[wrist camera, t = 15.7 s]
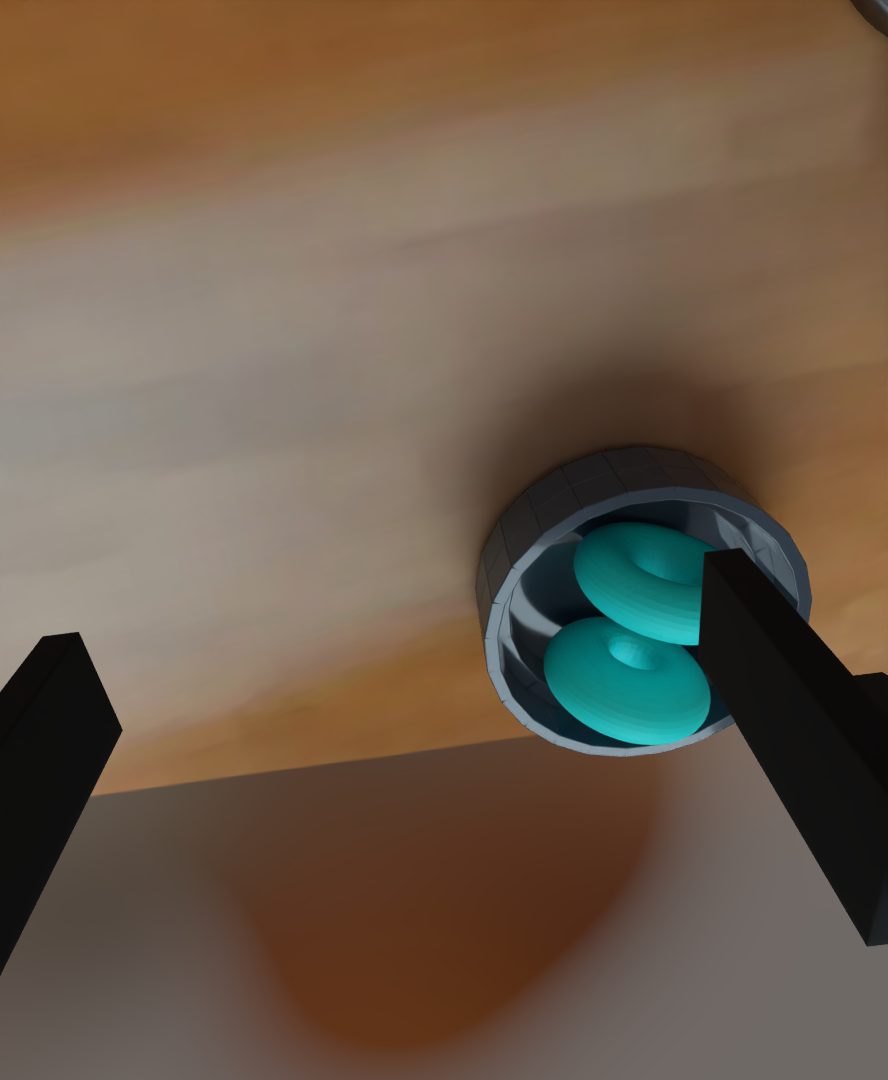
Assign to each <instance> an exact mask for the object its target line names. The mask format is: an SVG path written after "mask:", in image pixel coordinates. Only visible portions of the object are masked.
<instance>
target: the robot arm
mask: <svg viewBox="0 0 888 1080" xmlns="http://www.w3.org/2000/svg"><path fill="white" fill-rule="evenodd" d="M851 2H852V3H853V5H854V6H855V8H856V9H857V10H858V11H859V12H860V13H861V15H862V16H863V17H864V18H865V19H866V20H867V21H868V22H869V23H870V24H871V25H872V26H873V27H875V28H876V29H877V30H878V31H880V32H881V33H883V34H884V35H886V36H887V37H888V0H851ZM698 660H699V662H700V663H701V665H702V667H703V668H704V670H705V672H706V673H707V675H708V677H709V679H710V680H711V682H712V684H713V685H714V687H715V689H716V691H717V692H718V694H719V696H720V697H721V699H722V701H723V702H724V704H725V706H726V708H727V709H728V711H729V713H730V714H731V716H732V718H733V719H734V721H735V723H736V725H737V726H738V728H739V729H740V731H741V733H742V735H743V736H744V738H745V740H746V742H747V743H748V745H749V747H750V748H751V750H752V752H753V753H754V755H755V757H756V758H757V760H758V762H759V764H760V765H761V767H762V769H763V770H764V772H765V774H766V775H767V777H768V779H769V781H770V782H771V784H772V786H773V787H774V789H775V791H776V793H777V794H778V796H779V798H780V799H781V801H782V803H783V804H784V806H785V808H786V809H787V811H788V813H789V815H790V816H791V818H792V820H793V821H794V823H795V825H796V827H797V828H798V830H799V832H800V833H801V835H802V837H803V838H804V840H805V842H806V844H807V845H808V847H809V849H810V850H811V852H812V854H813V855H814V857H815V859H816V861H817V862H818V864H819V866H820V867H821V869H822V871H823V872H824V874H825V876H826V878H827V879H828V881H829V883H830V884H831V886H832V888H833V889H834V891H835V893H836V895H837V896H838V898H839V900H840V901H841V903H842V905H843V906H844V908H845V910H846V912H847V913H848V915H849V917H850V918H851V920H852V922H853V924H854V925H855V927H856V928H857V930H858V932H859V934H860V935H861V937H862V939H863V940H864V942H865V944H866V946H876V945H884V944H888V675H886V674H885V673H883V672H879V673H871V674H863V675H855V676H853V675H852V674H851V673H850V672H849V671H848V670H847V668H846V667H845V666H844V665H843V664H842V663H841V661H840V660H839V659H838V658H837V657H836V656H835V655H834V653H833V652H832V651H831V650H830V649H829V648H828V647H827V645H826V644H825V643H824V642H823V641H822V640H821V639H820V637H819V636H818V635H817V634H816V633H815V632H814V630H813V629H812V628H811V627H810V626H809V625H808V624H807V622H806V621H805V620H804V619H803V618H802V617H801V616H800V614H799V613H798V612H797V611H796V610H795V609H794V607H793V606H792V605H791V604H790V603H789V602H788V601H787V599H786V598H785V597H784V596H783V595H782V594H781V593H780V591H779V590H778V589H777V588H776V587H775V586H774V585H773V583H772V582H771V581H770V580H769V579H768V578H767V576H766V575H765V574H764V573H763V572H762V571H761V570H760V568H759V567H758V566H757V565H756V564H755V563H754V562H753V560H752V559H751V558H750V557H749V556H748V555H747V554H746V552H745V551H744V550H743V549H742V548H733V549H725V550H718V551H710V552H704V564H703V580H702V596H701V611H700V627H699V643H698ZM122 731H123V730H122V727H121V725H120V723H119V721H118V718H117V716H116V714H115V712H114V710H113V707H112V705H111V703H110V701H109V698H108V696H107V694H106V692H105V689H104V687H103V685H102V683H101V680H100V678H99V676H98V674H97V672H96V669H95V667H94V665H93V663H92V660H91V658H90V656H89V654H88V651H87V649H86V647H85V645H84V643H83V640H82V638H81V636H80V634H79V632H74V633H66V634H58V635H51V636H43V637H42V638H41V639H40V641H39V642H38V643H37V645H36V646H35V647H34V649H33V650H32V651H31V653H30V654H29V655H28V656H27V658H26V659H25V660H24V662H23V663H22V664H21V666H20V667H19V668H18V669H17V671H16V672H15V673H14V675H13V676H12V677H11V679H10V680H9V681H8V683H7V684H6V685H5V686H4V688H3V689H2V690H1V692H0V975H1V973H2V971H3V969H4V967H5V965H6V963H7V961H8V959H9V957H10V954H11V953H12V951H13V949H14V947H15V945H16V943H17V941H18V939H19V937H20V935H21V933H22V931H23V929H24V927H25V925H26V923H27V921H28V919H29V917H30V915H31V913H32V911H33V909H34V907H35V905H36V903H37V901H38V899H39V897H40V895H41V893H42V891H43V889H44V887H45V885H46V883H47V881H48V879H49V877H50V875H51V873H52V871H53V869H54V867H55V865H56V863H57V861H58V859H59V857H60V855H61V853H62V851H63V849H64V847H65V845H66V843H67V841H68V839H69V837H70V835H71V833H72V831H73V829H74V827H75V825H76V823H77V821H78V819H79V817H80V815H81V813H82V811H83V809H84V807H85V805H86V803H87V801H88V799H89V797H90V795H91V793H92V791H93V789H94V787H95V785H96V783H97V781H98V779H99V777H100V775H101V773H102V771H103V769H104V767H105V765H106V763H107V761H108V759H109V757H110V755H111V753H112V751H113V749H114V747H115V745H116V743H117V741H118V739H119V737H120V735H121V733H122Z"/></svg>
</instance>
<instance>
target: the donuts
mask: <svg viewBox="0 0 888 1080" xmlns="http://www.w3.org/2000/svg"><path fill="white" fill-rule="evenodd" d="M718 550H719V549H718V548H716V547H714V546H713V545H711V544H709V543H707V542H705V541H703V540H701V539H699V538H696V537H694V536H691V535H689V534H686V533H683V532H681V531H678V530H674V529H671V528H667V527H663V526H659V525H654V524H648V523H640V522H619V523H611V524H607V525H604V526H601V527H599V528H596V529H594V530H593V531H591V532H590V533H588V534H587V535H586V536H585V537H584V538H583V539H582V540H581V542H580V544H579V545H578V547H577V549H576V552H575V556H574V570H575V575H576V579H577V581H578V583H579V585H580V587H581V589H582V591H583V592H584V594H585V595H586V596H587V598H588V599H589V600H590V601H591V602H592V604H593V605H594V606H595V607H596V608H597V609H599V610H600V611H601V612H602V613H603V614H605V615H606V616H607V617H591V618H585V619H581V620H577V621H574V622H572V623H570V624H568V625H566V626H564V627H563V628H561V629H560V630H559V631H558V632H557V633H556V634H555V635H554V636H553V637H552V638H551V640H550V642H549V643H548V645H547V647H546V650H545V654H544V673H545V677H546V680H547V683H548V685H549V687H550V689H551V691H552V693H553V694H554V696H555V697H556V699H557V700H558V701H559V702H560V703H561V705H562V706H563V707H564V708H565V709H566V710H567V711H568V712H569V713H571V714H572V715H573V716H574V717H575V718H577V719H578V720H579V721H581V722H582V723H584V724H585V725H587V726H588V727H590V728H592V729H594V730H596V731H598V732H600V733H602V734H604V735H607V736H609V737H612V738H615V739H618V740H621V741H625V742H629V743H634V744H642V745H663V744H670V743H674V742H677V741H680V740H682V739H684V738H687V737H688V736H690V735H692V734H693V733H694V732H696V731H697V730H698V728H699V727H700V726H701V725H702V724H703V723H704V721H705V719H706V717H707V715H708V712H709V708H710V701H711V698H710V689H709V685H708V682H707V679H706V677H705V675H704V673H703V671H702V669H701V667H700V666H699V665H698V663H697V662H696V661H695V659H694V658H693V657H692V656H691V655H690V654H689V653H688V652H687V651H686V650H685V649H684V648H683V647H682V646H681V645H698V643H699V627H700V611H701V596H702V580H703V564H704V552H710V551H718ZM679 644H681V645H679Z"/></svg>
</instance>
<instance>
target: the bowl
mask: <svg viewBox="0 0 888 1080" xmlns="http://www.w3.org/2000/svg"><path fill="white" fill-rule="evenodd" d="M619 522H640V523H648V524H654V525H659V526H663V527H667V528H671V529H674V530H678V531H681V532H683V533H686V534H689V535H691V536H694V537H696V538H699V539H701V540H703V541H705V542H707V543H709V544H711V545H713V546H714V547H716V548H718V549H719V550H725V549H733V548H742V549H743V550H744V551H745V552H746V554H747V555H748V556H749V557H750V558H751V559H752V560H753V562H754V563H755V564H756V565H757V566H758V567H759V568H760V570H761V571H762V572H763V573H764V574H765V575H766V576H767V578H768V579H769V580H770V581H771V582H772V583H773V585H774V586H775V587H776V588H777V589H778V590H779V591H780V593H781V594H782V595H783V596H784V597H785V598H786V599H787V601H788V602H789V603H790V604H791V605H792V606H793V607H794V609H795V610H796V611H797V612H798V613H799V614H800V616H801V617H802V618H803V619H804V620H805V621H806V622H807V624H808V622H809V616H810V610H811V604H812V595H811V589H810V583H809V577H808V571H807V565H806V563H805V561H804V559H803V557H802V555H801V554H800V552H799V550H798V548H797V547H796V545H795V543H794V541H793V539H792V538H791V536H790V534H789V533H788V532H787V531H786V530H785V529H784V528H783V527H782V526H781V525H780V524H779V523H778V522H777V521H776V520H775V519H774V518H773V517H772V516H771V515H770V514H769V513H768V512H767V511H766V510H765V509H764V508H763V507H762V506H761V505H760V504H759V503H757V502H756V501H755V500H754V499H753V498H752V497H751V496H750V495H749V494H748V493H747V492H746V491H745V490H744V489H743V488H742V487H741V486H739V485H738V484H737V483H736V482H735V481H734V480H733V479H731V478H730V477H729V476H728V475H727V474H726V473H724V472H723V471H722V470H721V469H720V468H719V467H717V466H715V465H712V464H710V463H708V462H705V461H703V460H701V459H698V458H696V457H694V456H691V455H689V454H687V453H685V452H679V451H671V450H664V449H656V448H648V447H637V448H629V449H621V450H613V451H604V452H602V453H601V452H600V453H597V454H594V455H592V456H589V457H586V458H584V459H581V460H578V461H576V462H573V463H570V464H567V465H565V466H562V468H561V467H560V468H559V469H557V470H556V471H554V472H553V473H551V474H550V475H548V476H547V477H545V478H544V479H542V480H541V481H539V482H538V483H536V484H535V485H533V486H532V487H530V488H529V489H527V491H525V492H524V493H523V494H522V495H521V497H520V498H519V499H518V500H517V501H516V502H515V503H514V504H513V505H512V506H511V507H510V509H509V510H508V511H507V512H506V513H505V514H504V515H503V516H502V517H501V518H500V520H499V521H498V523H497V525H496V527H495V528H494V530H493V532H492V534H491V536H490V538H489V540H488V542H487V544H486V546H485V548H484V549H483V551H482V556H481V561H480V566H479V570H478V575H477V580H476V587H475V588H476V597H477V607H478V616H479V623H480V629H481V635H482V641H483V648H484V654H485V660H486V666H487V671H488V674H489V676H490V679H491V681H492V683H493V685H494V687H495V690H496V692H497V694H498V696H499V698H500V700H501V702H502V703H503V704H504V705H505V706H506V707H507V709H508V710H509V711H510V712H511V713H512V714H513V715H514V716H515V717H516V718H517V719H518V720H519V722H520V723H521V724H522V725H523V726H525V727H526V728H528V729H529V730H531V731H533V732H534V733H536V734H538V735H539V736H541V737H543V738H545V739H546V740H548V741H549V742H551V743H553V744H555V745H559V746H562V747H565V748H568V749H572V750H575V751H578V752H581V753H585V754H592V755H604V756H618V757H629V756H638V755H646V754H655V753H662V752H667V751H670V750H673V749H676V748H679V747H683V746H686V745H689V744H692V743H696V742H699V741H701V740H703V739H705V738H707V737H709V736H711V735H713V734H715V733H717V732H718V731H720V730H722V729H724V728H726V727H728V726H730V725H731V724H734V723H735V721H734V719H733V718H732V716H731V714H730V713H729V711H728V709H727V708H726V706H725V704H724V702H723V701H722V699H721V697H720V696H719V694H718V692H717V691H716V689H715V687H714V685H713V684H712V682H711V680H710V679H709V677H708V675H707V673H706V672H705V670H704V668H703V667H702V665H701V663H700V662H699V660H698V645H681V644H679V645H681V646H682V647H683V648H684V649H685V650H686V651H687V652H688V653H689V654H690V655H691V656H692V657H693V658H694V659H695V661H696V662H697V663H698V665H699V666H700V667H701V669H702V671H703V673H704V675H705V677H706V679H707V682H708V685H709V689H710V698H711V701H710V708H709V712H708V715H707V717H706V719H705V721H704V723H703V724H702V725H701V726H700V727H699V728H698V730H697V731H696V732H694V733H693V734H692V735H690V736H688V737H687V738H684V739H682V740H680V741H677V742H674V743H670V744H663V745H642V744H634V743H629V742H625V741H621V740H618V739H615V738H612V737H609V736H607V735H604V734H602V733H600V732H598V731H596V730H594V729H592V728H590V727H588V726H587V725H585V724H584V723H582V722H581V721H579V720H578V719H577V718H575V717H574V716H573V715H572V714H571V713H569V712H568V711H567V710H566V709H565V708H564V707H563V706H562V705H561V703H560V702H559V701H558V700H557V699H556V697H555V696H554V694H553V693H552V691H551V689H550V687H549V685H548V683H547V680H546V677H545V673H544V654H545V650H546V647H547V645H548V643H549V642H550V640H551V638H552V637H553V636H554V635H555V634H556V633H557V632H558V631H559V630H560V629H561V628H563V627H564V626H566V625H568V624H570V623H572V622H574V621H577V620H581V619H585V618H591V617H607V616H606V615H605V614H603V613H602V612H601V611H600V610H599V609H597V608H596V607H595V606H594V605H593V604H592V602H591V601H590V600H589V599H588V598H587V596H586V595H585V594H584V592H583V591H582V589H581V587H580V585H579V583H578V581H577V579H576V575H575V570H574V556H575V552H576V549H577V547H578V545H579V544H580V542H581V540H582V539H583V538H584V537H585V536H586V535H587V534H588V533H590V532H591V531H593V530H594V529H596V528H599V527H601V526H604V525H607V524H611V523H619Z"/></svg>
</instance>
